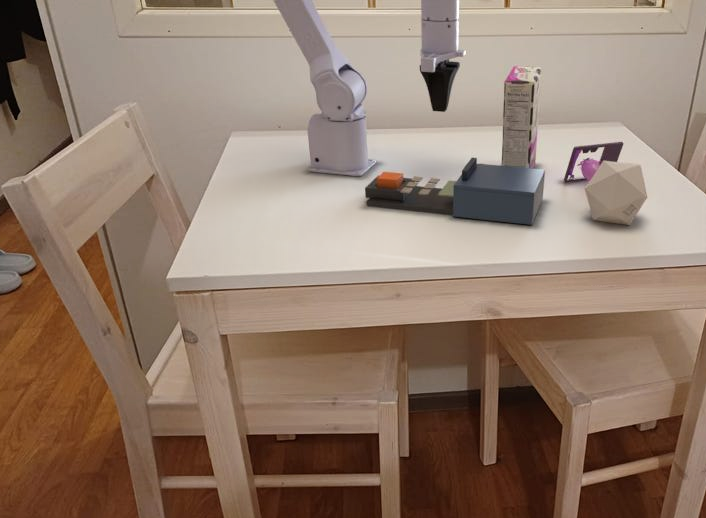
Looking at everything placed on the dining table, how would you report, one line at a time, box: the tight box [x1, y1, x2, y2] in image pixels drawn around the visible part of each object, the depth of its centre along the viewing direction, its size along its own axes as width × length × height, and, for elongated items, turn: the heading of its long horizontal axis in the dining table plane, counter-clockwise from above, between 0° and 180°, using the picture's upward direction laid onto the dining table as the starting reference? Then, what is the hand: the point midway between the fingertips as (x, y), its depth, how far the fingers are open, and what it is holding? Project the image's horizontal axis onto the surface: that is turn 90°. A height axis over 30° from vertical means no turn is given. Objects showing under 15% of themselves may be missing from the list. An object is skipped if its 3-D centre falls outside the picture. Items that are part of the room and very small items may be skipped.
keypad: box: [401, 176, 457, 197], centre depth 109 cm, size 8×7×1 cm
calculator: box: [364, 174, 453, 216], centre depth 110 cm, size 16×9×2 cm, turn 75°
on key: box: [377, 171, 404, 188], centre depth 111 cm, size 3×3×2 cm
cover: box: [452, 157, 546, 226], centre depth 107 cm, size 12×10×6 cm
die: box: [584, 161, 648, 226], centre depth 104 cm, size 8×9×10 cm
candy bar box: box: [501, 65, 542, 169], centre depth 118 cm, size 11×5×16 cm, turn 168°
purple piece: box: [563, 141, 624, 183], centre depth 117 cm, size 7×5×9 cm
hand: (439, 110), depth 117 cm, fingers closed
